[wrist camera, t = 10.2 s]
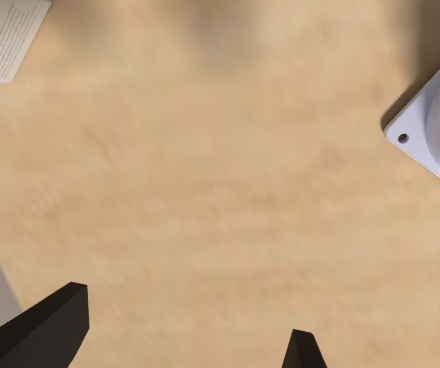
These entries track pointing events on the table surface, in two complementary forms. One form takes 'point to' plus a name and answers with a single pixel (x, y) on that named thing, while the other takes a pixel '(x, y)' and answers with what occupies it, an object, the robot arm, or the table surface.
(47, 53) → the table surface
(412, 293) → the table surface
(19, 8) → the skincare box
